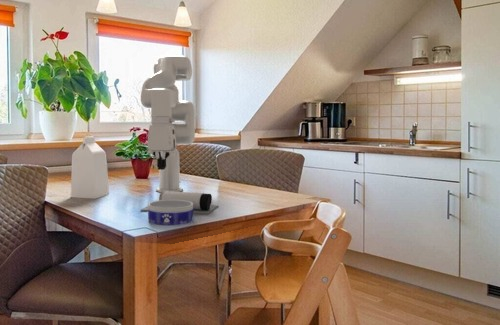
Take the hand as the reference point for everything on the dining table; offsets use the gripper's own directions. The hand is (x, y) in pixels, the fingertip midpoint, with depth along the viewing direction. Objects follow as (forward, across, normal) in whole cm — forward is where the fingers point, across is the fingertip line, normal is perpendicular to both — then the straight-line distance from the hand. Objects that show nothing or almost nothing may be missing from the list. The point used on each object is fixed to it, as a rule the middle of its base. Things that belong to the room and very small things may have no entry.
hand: (161, 169), depth 182 cm
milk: (+15, +41, -19) cm, 47 cm away
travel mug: (+11, 0, +1) cm, 11 cm away
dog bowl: (+16, -11, +19) cm, 27 cm away
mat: (+15, -8, 0) cm, 17 cm away
